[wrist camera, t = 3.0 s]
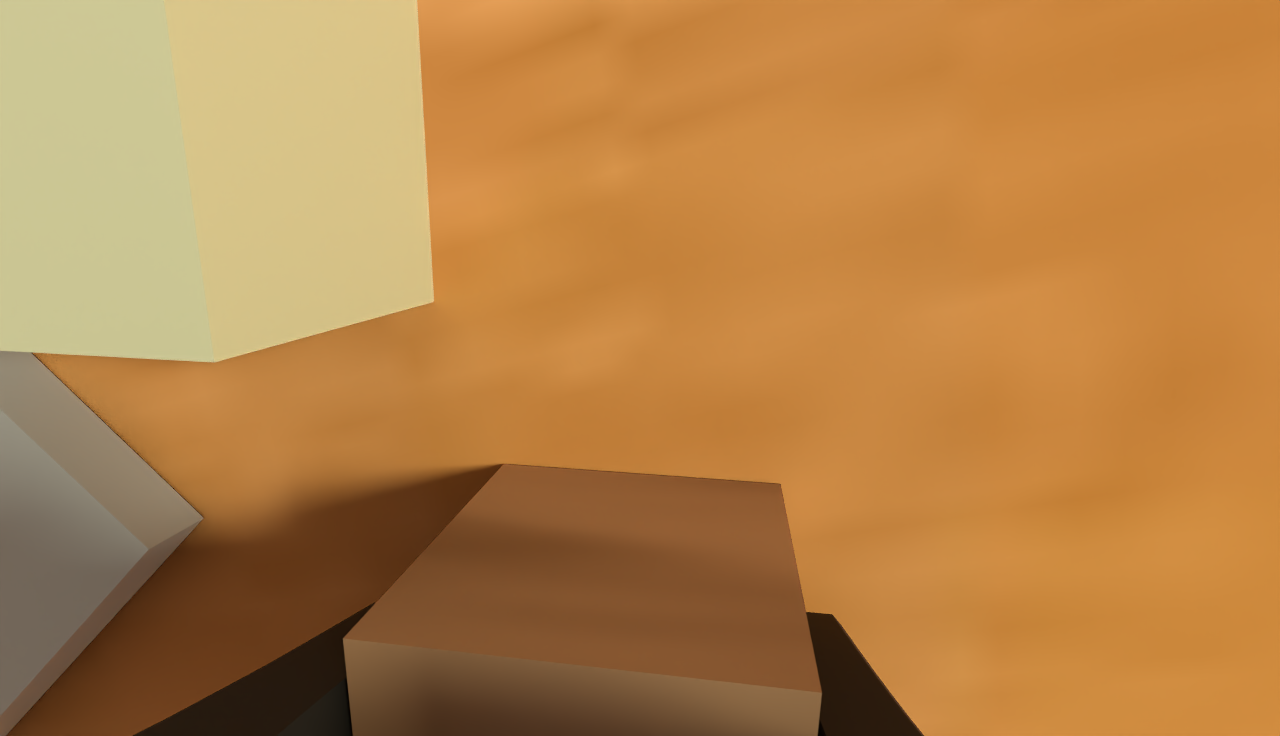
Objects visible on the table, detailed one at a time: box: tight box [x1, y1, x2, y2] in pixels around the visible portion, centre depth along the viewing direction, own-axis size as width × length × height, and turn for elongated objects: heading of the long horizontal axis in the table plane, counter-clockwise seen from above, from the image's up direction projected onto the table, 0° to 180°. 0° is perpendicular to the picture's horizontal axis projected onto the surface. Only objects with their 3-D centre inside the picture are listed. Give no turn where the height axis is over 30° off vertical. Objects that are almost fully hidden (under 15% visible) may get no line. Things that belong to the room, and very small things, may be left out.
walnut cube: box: [343, 464, 822, 736], centre depth 8 cm, size 4×4×4 cm
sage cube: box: [0, 0, 434, 362], centre depth 7 cm, size 4×4×4 cm
